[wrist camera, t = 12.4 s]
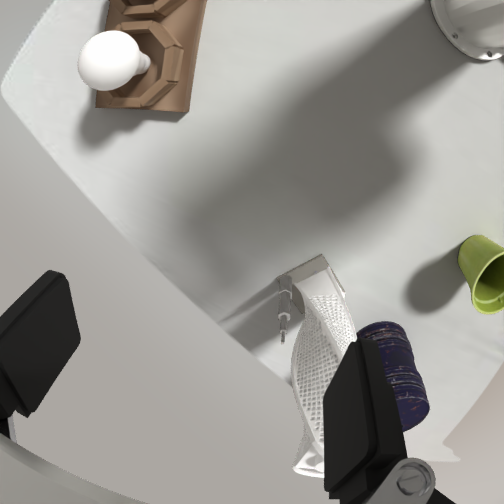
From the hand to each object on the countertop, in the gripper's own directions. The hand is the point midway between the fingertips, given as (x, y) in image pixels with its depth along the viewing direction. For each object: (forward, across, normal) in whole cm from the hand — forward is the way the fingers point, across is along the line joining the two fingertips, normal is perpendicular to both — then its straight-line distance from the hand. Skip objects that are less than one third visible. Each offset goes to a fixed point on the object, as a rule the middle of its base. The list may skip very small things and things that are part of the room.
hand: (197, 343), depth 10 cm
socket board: (+30, +16, -15) cm, 37 cm away
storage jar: (+31, -23, +25) cm, 46 cm away
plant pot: (+31, -32, +6) cm, 45 cm away
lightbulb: (+28, +16, -10) cm, 34 cm away
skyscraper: (+31, -10, +16) cm, 36 cm away
